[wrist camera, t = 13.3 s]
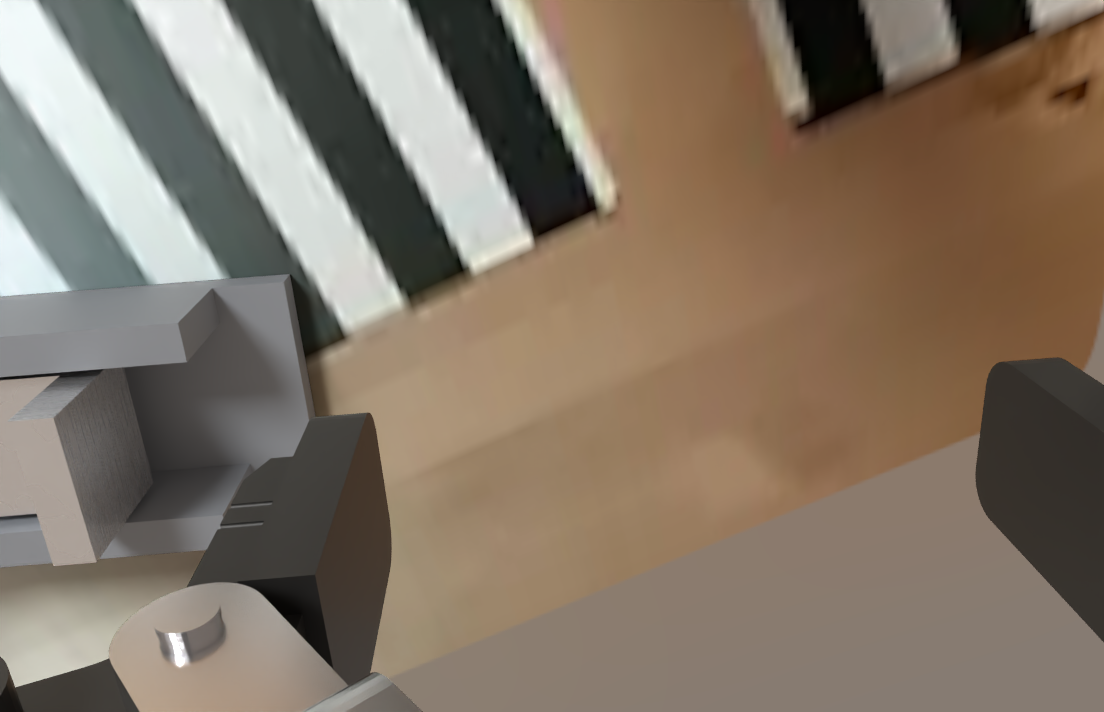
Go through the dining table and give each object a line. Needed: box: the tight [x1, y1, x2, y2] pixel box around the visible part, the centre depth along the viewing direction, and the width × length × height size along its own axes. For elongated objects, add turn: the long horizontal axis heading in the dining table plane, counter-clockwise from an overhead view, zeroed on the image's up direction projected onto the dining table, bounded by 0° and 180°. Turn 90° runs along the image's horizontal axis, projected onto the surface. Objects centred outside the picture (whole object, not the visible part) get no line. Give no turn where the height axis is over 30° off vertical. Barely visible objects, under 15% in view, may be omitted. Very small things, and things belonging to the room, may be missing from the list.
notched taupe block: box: [0, 367, 153, 566], centre depth 36 cm, size 6×7×8 cm
